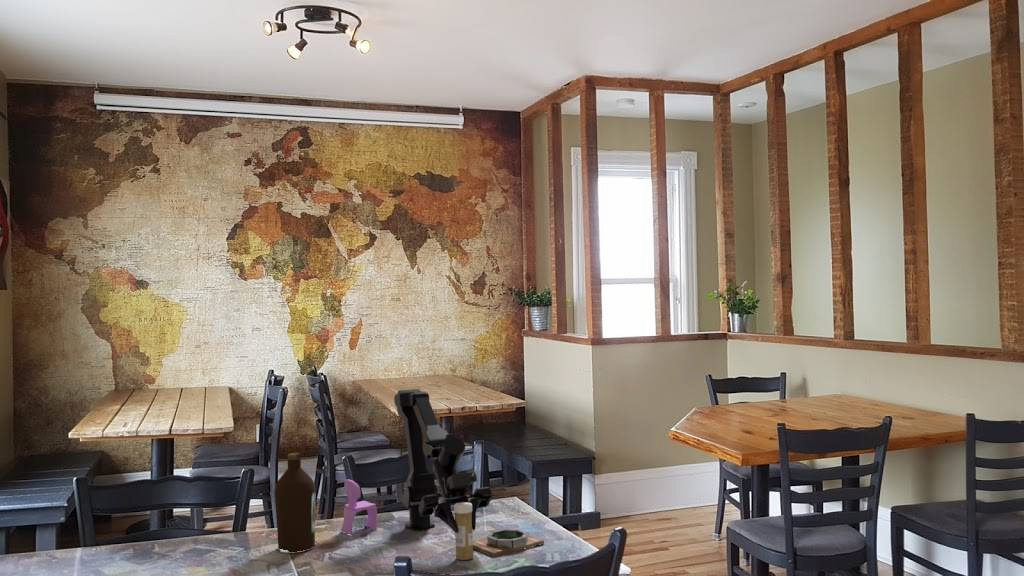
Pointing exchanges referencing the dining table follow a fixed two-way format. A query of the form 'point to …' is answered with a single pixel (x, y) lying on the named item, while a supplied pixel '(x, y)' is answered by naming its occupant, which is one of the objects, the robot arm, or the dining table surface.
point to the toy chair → (357, 508)
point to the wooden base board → (492, 551)
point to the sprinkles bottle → (463, 531)
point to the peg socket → (507, 538)
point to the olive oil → (295, 507)
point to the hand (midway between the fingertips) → (465, 530)
